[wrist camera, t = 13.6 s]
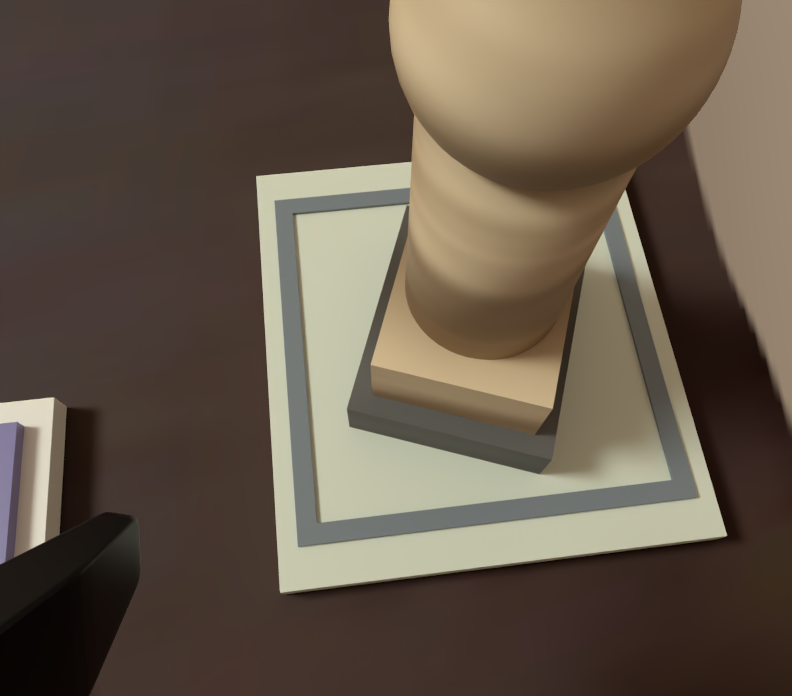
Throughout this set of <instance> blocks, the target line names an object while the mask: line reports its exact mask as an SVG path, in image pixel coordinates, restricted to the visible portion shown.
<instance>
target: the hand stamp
mask: <svg viewBox="0 0 792 696" xmlns="http://www.w3.org/2000/svg"><path fill="white" fill-rule="evenodd" d="M741 4H742V0H390V9H389V29H390V41H391V51H392V56H393V60H394V64H395V68H396V71H397V75H398V79H399V82H400V85H401V87H402V89H403V92H404V94H405V96H406V98H407V100H408V103H409V105H410V107H411V109H412V111H413V113H414V128H413V146H412V165H411V183H410V202H409V206H408V205H407V206H406V209H405V213H404V216H403V220H402V223H401V226H400V230H399V233H398V237H397V240H396V243H395V247H394V250H393V254H392V257H391V260H390V264H389V267H388V271H387V274H386V277H385V281H384V284H383V287H382V291H381V294H380V298H379V301H378V304H377V308H376V311H375V315H374V318H373V321H372V325H371V328H370V332H369V335H368V338H367V342H366V345H365V349H364V352H363V355H362V359H361V362H360V366H359V369H358V372H357V376H356V379H355V382H354V386H353V389H352V393H351V396H350V399H349V403H348V406H347V414H348V420H349V427H352V428H356V429H360V430H364V431H368V432H372V433H376V434H380V435H384V436H388V437H392V438H396V439H400V440H404V441H408V442H412V443H416V444H420V445H424V446H428V447H432V448H436V449H440V450H444V451H448V452H452V453H456V454H460V455H464V456H468V457H472V458H476V459H480V460H484V461H488V462H492V463H496V464H500V465H504V466H508V467H512V468H516V469H520V470H524V471H528V472H532V473H536V474H540V473H541V472H542V471H543V470H544V468H545V467H546V466H547V465H548V464H549V463H550V462H551V461H552V457H553V451H554V445H555V439H556V434H557V428H558V422H559V416H560V410H561V405H562V399H563V393H564V387H565V381H566V376H567V370H568V364H569V358H570V352H571V347H572V341H573V335H574V329H575V323H576V317H577V312H578V306H579V300H580V294H581V288H582V283H583V277H584V271H585V266H586V264H587V262H588V260H589V258H590V256H591V254H592V252H593V250H594V248H595V246H596V245H597V243H598V241H599V239H600V237H601V235H602V233H603V231H604V229H605V227H606V225H607V223H608V222H609V220H610V218H611V216H612V214H613V212H614V210H615V208H616V206H617V204H618V202H619V200H620V199H621V197H622V195H623V193H624V191H625V189H626V187H627V185H628V183H629V181H630V179H631V178H632V176H633V174H634V172H635V170H636V168H637V166H639V165H641V164H642V163H644V162H645V161H647V160H648V159H650V158H651V157H653V156H654V155H656V154H657V153H658V152H660V151H661V150H662V149H663V148H665V147H666V146H667V145H668V144H669V143H671V142H672V141H673V140H674V139H675V138H676V137H677V136H678V135H679V134H680V133H681V132H682V131H683V130H684V129H685V128H686V127H687V125H688V124H689V123H690V122H691V121H692V120H693V118H694V117H695V116H696V115H697V114H698V112H699V111H700V109H701V108H702V106H703V105H704V104H705V102H706V101H707V99H708V98H709V96H710V94H711V93H712V91H713V90H714V88H715V86H716V85H717V83H718V81H719V79H720V76H721V74H722V72H723V70H724V68H725V66H726V63H727V61H728V58H729V56H730V53H731V50H732V47H733V44H734V40H735V37H736V33H737V30H738V24H739V19H740V13H741Z"/></svg>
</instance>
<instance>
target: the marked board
mask: <svg viewBox="0 0 792 696" xmlns="http://www.w3.org/2000/svg"><path fill="white" fill-rule="evenodd" d="M411 165H412V162H406V163H395V164H384V165H373V166H363V167H352V168H341V169H330V170H319V171H308V172H297V173H287V174H276V175H265V176H256V178H257V195H258V213H259V231H260V248H261V266H262V283H263V301H264V318H265V336H266V354H267V371H268V389H269V406H270V424H271V441H272V459H273V476H274V494H275V512H276V529H277V547H278V564H279V582H280V593H282V594H291V593H299V592H307V591H315V590H323V589H330V588H338V587H346V586H354V585H362V584H370V583H378V582H386V581H393V580H401V579H409V578H417V577H425V576H433V575H441V574H448V573H456V572H464V571H472V570H480V569H488V568H496V567H503V566H511V565H519V564H527V563H535V562H543V561H551V560H558V559H566V558H574V557H582V556H590V555H598V554H606V553H614V552H621V551H629V550H637V549H645V548H653V547H661V546H669V545H676V544H684V543H692V542H700V541H708V540H716V539H719V538H722V537H726V536H727V533H726V530H725V527H724V523H723V520H722V516H721V513H720V510H719V506H718V503H717V499H716V496H715V493H714V489H713V486H712V482H711V479H710V476H709V472H708V469H707V465H706V462H705V459H704V455H703V452H702V448H701V445H700V442H699V438H698V435H697V431H696V428H695V425H694V421H693V418H692V414H691V411H690V408H689V404H688V401H687V397H686V394H685V391H684V387H683V384H682V380H681V377H680V374H679V370H678V367H677V363H676V360H675V357H674V353H673V350H672V346H671V343H670V340H669V336H668V333H667V329H666V326H665V323H664V319H663V316H662V312H661V309H660V306H659V302H658V299H657V295H656V292H655V289H654V285H653V282H652V278H651V275H650V272H649V268H648V265H647V261H646V258H645V255H644V251H643V248H642V244H641V241H640V238H639V234H638V231H637V227H636V224H635V221H634V217H633V214H632V210H631V207H630V204H629V200H628V197H627V193H626V190H625V191H624V193H623V195H622V197H621V199H620V200H619V202H618V204H617V206H616V208H615V210H614V212H613V214H612V216H611V218H610V220H609V222H608V223H607V225H606V227H605V229H604V231H603V233H602V235H601V237H600V239H599V241H598V243H597V245H596V246H595V248H594V250H593V252H592V254H591V256H590V258H589V260H588V262H587V264H586V266H585V271H584V277H583V283H582V288H581V294H580V300H579V306H578V312H577V317H576V323H575V329H574V335H573V341H572V347H571V352H570V358H569V364H568V370H567V376H566V381H565V387H564V393H563V399H562V405H561V410H560V416H559V422H558V428H557V434H556V439H555V445H554V451H553V457H552V461H551V462H550V463H549V464H548V465H547V466H546V467H545V468H544V470H543V471H542V472H541V473H540V474H536V473H532V472H528V471H524V470H520V469H516V468H512V467H508V466H504V465H500V464H496V463H492V462H488V461H484V460H480V459H476V458H472V457H468V456H464V455H460V454H456V453H452V452H448V451H444V450H440V449H436V448H432V447H428V446H424V445H420V444H416V443H412V442H408V441H404V440H400V439H396V438H392V437H388V436H384V435H380V434H376V433H372V432H368V431H364V430H360V429H356V428H352V427H349V420H348V414H347V406H348V403H349V399H350V396H351V393H352V389H353V386H354V382H355V379H356V376H357V372H358V369H359V366H360V362H361V359H362V355H363V352H364V349H365V345H366V342H367V338H368V335H369V332H370V328H371V325H372V321H373V318H374V315H375V311H376V308H377V304H378V301H379V298H380V294H381V291H382V287H383V284H384V281H385V277H386V274H387V271H388V267H389V264H390V260H391V257H392V254H393V250H394V247H395V243H396V240H397V237H398V233H399V230H400V226H401V223H402V220H403V216H404V213H405V209H406V206H407V205H408V206H409V202H410V183H411Z"/></svg>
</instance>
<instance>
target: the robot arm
mask: <svg viewBox="0 0 792 696" xmlns="http://www.w3.org/2000/svg"><path fill="white" fill-rule="evenodd" d="M140 570H141V563H140V530H139V523H138V520H137V519H136V518H135V517H134V516H132V515H125V514H118V513H112V512H105V513H102V514H100V515H98V516H96V517H94V518H92V519H90V520H88V521H86V522H84V523H82V524H80V525H78V526H76V527H74V528H72V529H70V530H68V531H66V532H64V533H62V534H60V535H58V536H56V537H54V538H52V539H50V540H48V541H46V542H44V543H42V544H40V545H38V546H36V547H34V548H32V549H30V550H28V551H26V552H24V553H22V554H20V555H18V556H16V557H14V558H12V559H10V560H8V561H6V562H4V563H2V564H0V696H89V695H90V693H91V690H92V688H93V686H94V684H95V682H96V679H97V677H98V675H99V673H100V670H101V668H102V666H103V663H104V661H105V659H106V656H107V654H108V652H109V650H110V647H111V645H112V643H113V640H114V638H115V636H116V633H117V631H118V629H119V626H120V624H121V622H122V619H123V617H124V615H125V612H126V610H127V608H128V606H129V603H130V601H131V599H132V596H133V594H134V592H135V589H136V587H137V584H138V581H139V576H140Z"/></svg>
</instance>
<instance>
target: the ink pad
mask: <svg viewBox="0 0 792 696" xmlns="http://www.w3.org/2000/svg"><path fill="white" fill-rule="evenodd" d="M66 413H67V407H66V406H65V405H64V404H62V403H61V402H60V401H58V400H57V399H56V398H44V399H35V400H26V401H17V402H8V403H0V564H2V563H4V562H6V561H8V560H10V559H12V558H14V557H16V556H18V555H20V554H22V553H24V552H26V551H28V550H30V549H32V548H34V547H36V546H38V545H40V544H42V543H44V542H46V541H48V540H50V539H52V538H54V537H56V536H58V535H59V534H60V517H61V500H62V482H63V465H64V448H65V430H66Z"/></svg>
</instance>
